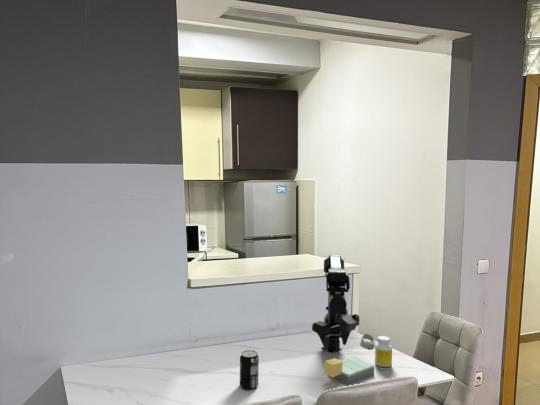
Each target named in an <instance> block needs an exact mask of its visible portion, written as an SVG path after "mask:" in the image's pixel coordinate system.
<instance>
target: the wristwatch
mask: <svg viewBox="0 0 540 405" xmlns="http://www.w3.org/2000/svg"><path fill="white" fill-rule="evenodd" d="M365 340H368V341H371V342H370V343H369V342H366V341H365ZM375 342H376V340H375V338H374V336H373V335H371V334H369V333H365V332H364V333H363V334H362V335H361V340H360V342H359V343H360V345H361V347H363V348H366V349H371V348H373V347H374V346H375ZM372 346H373V347H372ZM370 347H371V348H370Z"/></svg>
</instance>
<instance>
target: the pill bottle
mask: <svg viewBox="0 0 540 405" xmlns="http://www.w3.org/2000/svg"><path fill="white" fill-rule="evenodd" d="M390 341H391V338H390V337H388V336H386V335H379V336H377V342H376V343H375V344H374V367H376V368H378V369H379V370H390V369H391V368H392V364H393V360H392V359H393V346H392V344H390Z"/></svg>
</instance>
